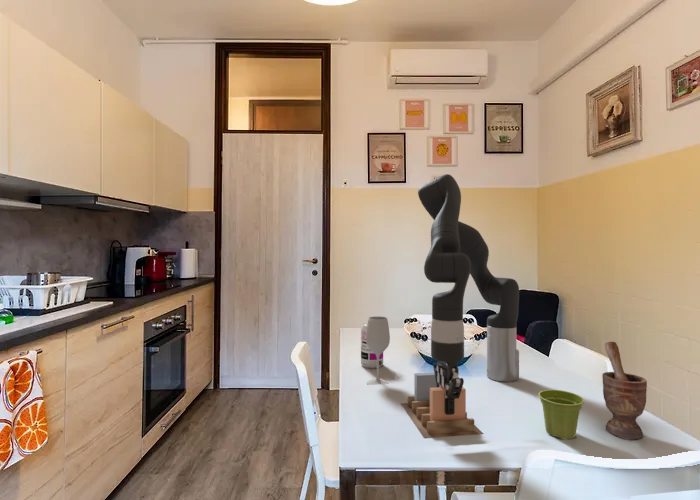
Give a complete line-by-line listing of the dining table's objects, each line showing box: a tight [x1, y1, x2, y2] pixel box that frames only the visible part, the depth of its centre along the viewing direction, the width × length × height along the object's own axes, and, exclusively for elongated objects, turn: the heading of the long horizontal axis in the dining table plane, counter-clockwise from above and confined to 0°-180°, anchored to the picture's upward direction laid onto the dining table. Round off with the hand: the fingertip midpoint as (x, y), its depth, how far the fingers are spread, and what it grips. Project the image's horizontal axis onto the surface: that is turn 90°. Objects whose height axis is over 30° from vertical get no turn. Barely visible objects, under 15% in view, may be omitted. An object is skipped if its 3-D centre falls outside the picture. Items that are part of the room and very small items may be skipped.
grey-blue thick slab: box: [413, 371, 437, 401], centre depth 107 cm, size 8×2×9 cm, turn 98°
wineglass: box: [366, 316, 391, 386], centre depth 129 cm, size 8×8×21 cm
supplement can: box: [360, 322, 384, 369], centre depth 149 cm, size 8×8×15 cm
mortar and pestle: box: [601, 341, 648, 441], centre depth 96 cm, size 12×9×20 cm
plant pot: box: [538, 389, 585, 440], centre depth 94 cm, size 9×9×9 cm
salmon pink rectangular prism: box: [430, 386, 467, 421], centre depth 95 cm, size 8×2×9 cm, turn 98°
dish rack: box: [400, 395, 484, 439], centre depth 101 cm, size 14×20×4 cm
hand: (447, 411), depth 95 cm, fingers closed on salmon pink rectangular prism, 1 cm apart
